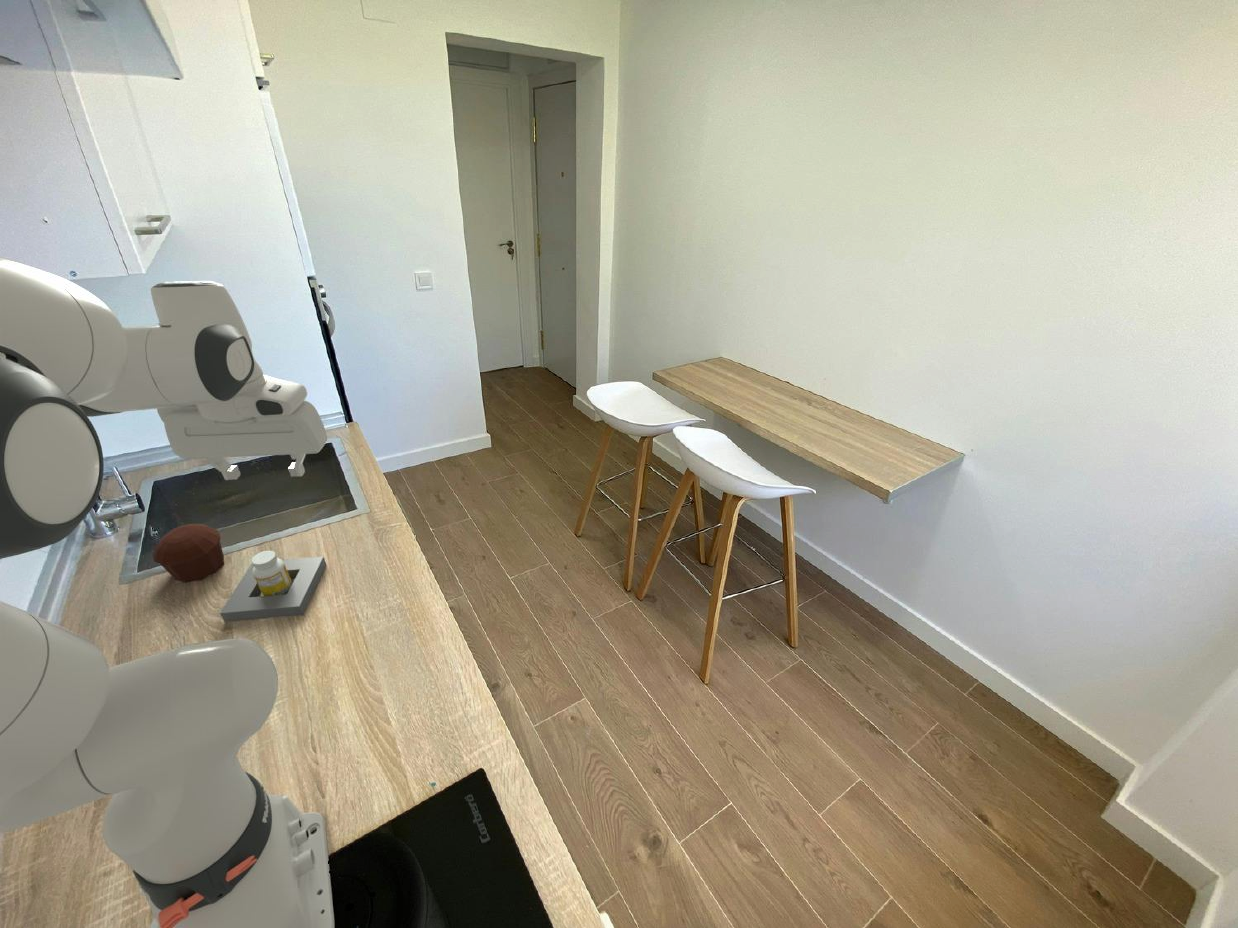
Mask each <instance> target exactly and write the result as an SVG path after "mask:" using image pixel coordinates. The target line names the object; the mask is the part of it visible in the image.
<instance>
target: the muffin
mask: <svg viewBox="0 0 1238 928" xmlns="http://www.w3.org/2000/svg"><path fill="white" fill-rule="evenodd" d="M152 558H153V561H154V562H155V563H157V564H159V565H160V566H161V567H162V568H163V569H164V570H165V571H166V572H167V573H168V574H170V576H171V577H172V578H173V579H174V580H176V581H180V582H182V583H184V584H187V583H191V582H198V581H199V582H200V581H203V580H204V579H207V578H208V577H210V576H213V575H216V573H217V572H219V570H220V569H221V568H222V567H223V566H224V565H225V561H224V558H225V556H224V552H223V549H222V543H221V534H220V531H219V530H218V529H215V528H213V527H211V526H208V525H206V524H203V523H189V524H184V525H180V526H177V527H175V528H173V529H172V530H170V531H168V532H167V533H166V534H165V535H163V536H162V537H161V538H160V540H159V541H158V542H157V544H156V546H155V548H154V551H153V553H152Z"/></svg>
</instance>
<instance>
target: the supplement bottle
mask: <svg viewBox="0 0 1238 928" xmlns="http://www.w3.org/2000/svg"><path fill="white" fill-rule="evenodd" d="M251 564H253V566H254V568H253V576H254V578H255V580H256V582H257V584H258V586H259V588H260V590H261V593H262V596H273V595H285V594H287V593H288V591H289V589H290V587H291V586H292V584H293V581H292V579H290V576H289V574H288V572H287V569H286V567H285V564H284V562H283V561H282V559H281V558H279V557H278V556H277V554H276V552H275V551H274V550H264V551H260V552H258V553H257V554H255V555H254V556H253V557H252V558H251Z"/></svg>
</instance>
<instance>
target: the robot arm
mask: <svg viewBox="0 0 1238 928" xmlns="http://www.w3.org/2000/svg"><path fill="white" fill-rule="evenodd" d="M150 295H151V297H152V298H151V299H152V303H153V307H154V309H155V313H156V316H157V319H158V323H157V325H149V326H148V325H146V326H144V325H143V326H125V327H124V326H122V324H121V322H120V320H119V319H118V317H117V316H116V314H115V313H114V312H113V310H111V308H109V307H108V305H107V304H105V303H104V301H102V300H101V299H100V298H98V297H97V296H95V295H94V294H93V293H91V292H90V291H88V290H86V289H85V288H83V287H81V286H79V285H78V284H76V283H75V282H72V281H70V280H68V279H66V278H63V277H61V276H58V275H56V274H53V273H51V272H48V271H45V270H42V269H39V268H37V267H33V266H31V265H27V264H24V263H21V262H17V261H14V260H11V259H7V258H5V257H1V256H0V560H2V559H8V558H11V557H14V556H18V555H19V556H20V555H23V554H26V553H30V552H34V551H36V550H41V549H43V548H45V547H48V546H49V547H50V546H52V545H54V544H57V543H59V542H61V541H62V540H64V539H65V538H67V537H69V536H70V534H72V532H74V531H75V530H76V528H77V527H78V525H80V523H82V521H83V520H84V519H85V517H86V516H87V515H88V514H89V513H90V512H91V511H92V509H93V508H94V506H95V504H96V502H97V500H98V497H99V495H100V492H101V489H102V484H103V480H104V471H105V470H104V467H105V464H104V454H103V449H102V444H101V439H100V438H99V435H98V432H97V430H96V429H95V427H94V425H93V423H92V422H91V420H90V419H89V418H90V417H93V418H94V417H99V416H100V417H101V416H108V415H113V414H120V413H126V412H135V411H146V410H148V411H149V410H157V411H156V412H157V413H158V416H159V418H160V420H161V421H162V423H163V424H164V426H163V427H164V430H165V433H166V434H165V435H166V437H167V439H168V442H169V446H170V448H171V451H172V452H173V454H174V455H176V456H177V457H179V458H180V459H182V460H193V459H195V460H196V459H206V463H208V465H210V466H211V467H213V468H214V469H215V470H218V472H220V473H221V474H222V476H223V478H224V480H225V481H233V480H234V481H235V480H238V479H239V478H240V477H241V471H240V469H239V466H238V465H237V464H236V465H235V464H234V465H233V464H231V463H230V462H229V461H227V459H225V458H240V457H243V458H244V457H263V456H286V455H290V458H291V460H295V462H291V464H290V466H288V468H287V470H288V473H290V477H291V478H294V477H303V476H304V474H305V473H306V471H305V466H304V463H303V462H304V460H305V458H306V455H310V454H312V455H313V454H318V453H320V451H321V450H323V447H324V446H325V445H326V443H327V440H328V434H327V431H326V428H325V426H324V422H323V421H322V418H321V416H320V414H319V412H318V410H317V408H316V407H315V405H313V404H312V403H311V402H310V401H308V400H306V399H307V396H308V391H307V388H306V387H305V385H303V384H301V383H296V382H293V381H288V380H284V379H280V378H276V377H273V376H269V375H266V374H264V372H263V370H262V367H261V366H260V365H259V364H258V362H257V360H255V357H254V354H253V343H252V340H251V337H250V335H249V331H248V329H247V326H246V324H245V322H244V319H243V317H242V315H241V313H240V311H239V309H238V307H237V305H236V303H235V302H234V300H233V298H232V296H231V295H230V293H229V291H228V290H227V289H226V287H225V286H224V285H223V284H221V283H218V282H216V281H212V280H190V281H189V280H186V281H184V280H183V281H165V282H160V283H156V285H153V286H151V288H150ZM277 671H278V670H277V668H276V666H275V663H274V661H273V659H272V657H271V656H270V655H269V653H268V652H267V651H266V650H265V649H264V648H263V647H261V646H260V645H259V644H258V643H256V642H255V641H252V640H250V639H247V638H245V637H237V638H227V639H226V638H225V639H217V640H212V641H211V640H210V641H204V642H197V643H190V644H184V645H182V646H177V647H175V648H170V649H168V650H165V651H161V652H157V653H153V654H152V655H148V656H143V657H141V658H137V659H134V660H130V661H127V662H124V663H120V664H117V665H112V666H110V667H109V664H108V661H107V659H106V657H105V655H104V653H103V652H102V650H101V648H99V646H98V645H97V644H96V643H95V642H94V641H92V640H91V639H90V638H88V637H86V636H84V635H82V634H79V633H78V632H75V631H72V630H70V629H68V628H66V627H63V626H61V625H59V624H56V623H55V622H52V621H50V620H47V619H44V618H42V617H41V616H37V615H36V614H33V613H30V612H28V611H26V610H23V609H21V608H19V607H17V606H15V605H11V604H9V603H6V602H4V601H1V600H0V834H4V833H7V832H11V831H16V830H19V829H23V828H26V827H28V826H31V825H33V824H36V823H39V822H43V821H44V820H47V819H50V818H53V817H56V816H58V815H61V814H64V813H66V812H68V811H69V812H70V811H72V810H74V809H76V808H77V809H78V808H79V807H82V806H85V805H88V804H90V803H92V802H93V803H94V802H95V801H98V800H101V799H104V798H107V797H109V796H112V797H111V798H110V799H109V802H108V805H107V807H106V809H105V812H104V815H103V820H102V834H103V839H104V843H105V845H106V848H108V850H109V851H110V852H112V853H113V854H114V855H115V856H116V857H117V858H118V859H120V860H121V861H122V862H123V863H125V864H126V865H127V866H128V867H130V868H131V869H132V872H133V875H134V877H135V878H136V881H137V883H138V885H139V887H140V889H139V894H140V895H142V896H143V897H144V898H146V900H147V903H148V905H149V907H150V910H151V912H152V914H153V916H154V919H153V920H152V922H151V923H150V925H149V927H148V928H335V913H334V906H333V905H334V904H333V893H332V892H333V891H332V885H331V884H332V882H331V874H330V873H329V871H330V863H329V864H328V861H329V851H328V841H327V832H326V831H327V830H326V820H325V817H324V816H323V815H322V814H321V813H320V812H316V811H314V812H313V811H312V812H302V811H301V810H300V809H299V808H298V806H297V805H296V804H295V803H294V802H293V800H292V799H291V798H290V797H289V796H287V795H283V794H282V795H281V794H274V793H273V794H272V793H267V792H266V790H265V788H264V786H263V784H262V783H261V782H260V781H259V780H258V779H257V778H255V777H254V775H252V774H251V773H249V772H247V771H245V769H244V768H243V766H242V764H241V762H240V760H239V758H238V757H237V754H238V752H239V750H240V749H241V747H242V746H243V745H244V744H245V743H246V742H247V741H248V740H249V739H250V738H251V737H252V736H254V735H255V734H256V733H257V732H258V731H259V730H260V731H261V729H262V728H263V725H264V724H265V723H266V721H267V720H268V719H269V718H270V716H271V713H272V710H273V708H274V706H275V703H276V701H277V700H276V699H277V696H278V692H279V691H278V690H279V676H278V672H277ZM314 831H315V832H314ZM313 832H314V833H313Z"/></svg>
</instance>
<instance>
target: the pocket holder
mask: <svg viewBox="0 0 1238 928" xmlns="http://www.w3.org/2000/svg"><path fill="white" fill-rule="evenodd" d="M281 560H282V561H283V562H284V564H285V567H286V569H287V572H288V574H289V576H290V579H291V580H292V579H294V580H293V581H292V583H293V584H292V586H291V587H290V589H289V591H288V593H287V594H285V595H273V596H263V595H262V596H260V595H261V593H262V592H261V590H260V588H259V586H258V584H257V582H256V580H255V578H254V576H253V568H254V566H253V564H252V563H251V564H250V565H249V567H248V569H247V570H246V572H245V573H244V574H243V576H242V578H241V580H240V581H239V582H238V583H237V586H236V587H235V589H234V590H233V592H232V593H231V595H230V597H229V598H228V600H227V601H226V603H225V604H224V606H223V607H222V609H221V610H220V612H219V614H220V616H221V618H222V620H223V622H224V623H229V622H239V621H241V622H242V621H250V620H251V621H252V620H261V619H262V620H263V619H271V618H272V619H274V618H284V617H286V618H287V617H295V616H296V617H298V616H303V615H304V614H305V612H306V610H307V608H308V606H309V604H310V601H311V599H312V597H313V595H314V594H315V593H314V592H315V591H316V589H317V587H318V584H319V582H320V580H321V578H322V576H323V573H324V571H325V569H326V567H327V562H326V559H325V557H324V556H312V557H311V556H310V557H298V558H285V559H281Z"/></svg>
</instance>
